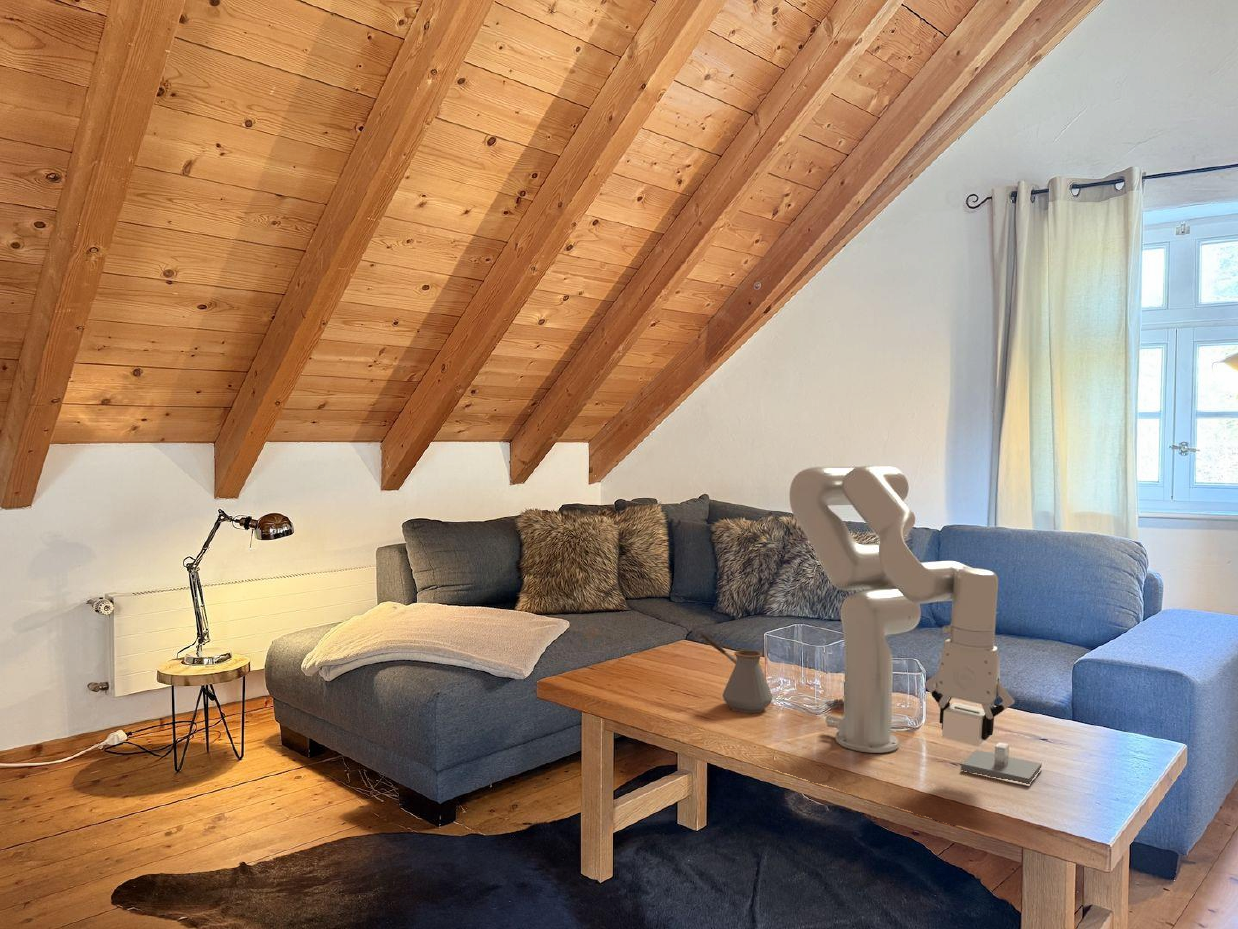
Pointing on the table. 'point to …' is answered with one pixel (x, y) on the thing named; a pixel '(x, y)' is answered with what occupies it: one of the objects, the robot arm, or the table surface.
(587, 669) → the table surface
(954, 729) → the cream coin box
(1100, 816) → the table surface
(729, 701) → the coffee pot
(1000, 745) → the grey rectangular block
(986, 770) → the plate
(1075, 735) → the table surface
